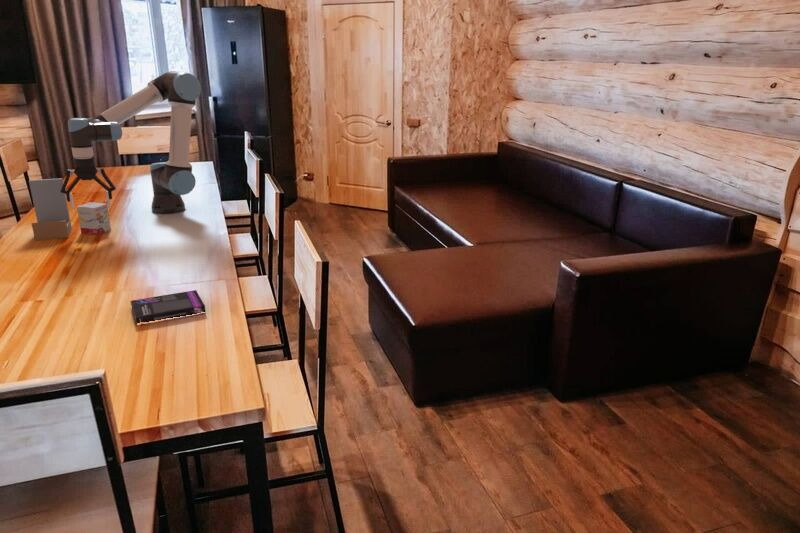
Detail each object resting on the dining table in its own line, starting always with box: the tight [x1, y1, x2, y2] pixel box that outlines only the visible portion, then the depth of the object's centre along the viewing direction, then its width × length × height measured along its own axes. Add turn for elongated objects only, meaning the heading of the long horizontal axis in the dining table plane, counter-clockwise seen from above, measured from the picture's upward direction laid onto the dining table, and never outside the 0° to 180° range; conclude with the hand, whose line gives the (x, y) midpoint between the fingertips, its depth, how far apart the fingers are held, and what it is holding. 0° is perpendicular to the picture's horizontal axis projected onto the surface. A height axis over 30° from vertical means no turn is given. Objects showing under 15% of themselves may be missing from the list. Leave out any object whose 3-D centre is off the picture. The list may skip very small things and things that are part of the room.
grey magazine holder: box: [28, 177, 73, 241], centre depth 238 cm, size 12×13×22 cm
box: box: [130, 289, 206, 324], centre depth 175 cm, size 14×4×20 cm
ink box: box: [76, 201, 112, 236], centre depth 245 cm, size 9×9×12 cm
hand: (91, 208), depth 243 cm, fingers open, 13 cm apart
